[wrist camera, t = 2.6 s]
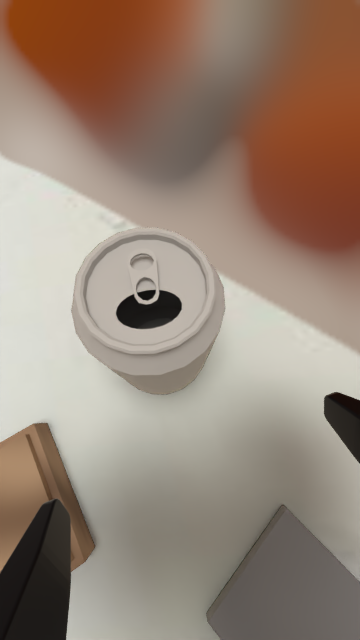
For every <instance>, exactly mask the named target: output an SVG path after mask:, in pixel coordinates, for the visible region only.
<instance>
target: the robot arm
mask: <svg viewBox="0 0 360 640" xmlns="http://www.w3.org/2000/svg"><path fill="white" fill-rule="evenodd" d="M324 415H325V417H326V419H327V421H328V422H329V424H330V425H331V426H332V428H333V429H334V430H335V432H336V433H337V434H338V436H339V437H340V438H341V440H342V441H343V442H344V444H345V445H346V446H347V448H348V449H349V450H350V452H351V453H352V454H353V456H354V457H355V458H356V460H357V461H358V462H359V463H360V400H357V399H355V398H352V397H349V396H347V395H344V394H341V393H338V392H334V393H331V394H329V395H326V396H325V398H324ZM70 585H71V519H70V514H69V512H68V511H67V509H66V508H65V507H64V505H63V504H62V502H61V501H60V500H59V499H57V498H55V499H52V500H50V501H47V502H45V503H43V504H42V505H41V507H40V508H39V510H38V512H37V513H36V515H35V516H34V518H33V520H32V521H31V523H30V525H29V526H28V528H27V530H26V531H25V533H24V534H23V536H22V538H21V539H20V541H19V543H18V544H17V546H16V548H15V549H14V551H13V552H12V554H11V556H10V557H9V559H8V561H7V562H6V564H5V566H4V567H3V569H2V570H1V572H0V640H66V633H67V622H68V610H69V599H70Z"/></svg>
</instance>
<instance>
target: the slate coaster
mask: <svg viewBox="0 0 360 640" xmlns="http://www.w3.org/2000/svg"><path fill="white" fill-rule="evenodd" d="M207 620H208V623H209V625H210V626H211V627H212V628H213V630H214V631H215V632H216V633H217V635H218V636H219V637H220V638H221V640H360V582H359V581H358V580H357V579H356V578H355V577H354V576H353V575H352V574H351V573H350V572H349V571H348V570H347V569H346V568H345V567H344V566H343V565H342V564H341V563H340V562H339V561H338V560H337V559H336V558H335V557H334V556H333V555H332V554H331V553H330V552H329V551H328V550H327V549H326V548H325V547H324V546H323V545H322V543H321V542H320V541H319V540H318V539H317V538H316V537H315V536H314V535H313V534H312V533H311V532H310V531H309V530H308V529H307V528H306V527H305V526H304V525H303V524H302V523H301V522H300V521H299V520H298V519H297V518H296V517H295V516H294V515H293V514H292V513H291V512H290V511H289V510H288V509H287V508H286V507H285V506H283V505H282V506H281V507H280V509H279V510H278V512H277V513H276V515H275V516H274V517H273V519H272V520H271V522H270V523H269V525H268V526H267V527H266V529H265V530H264V532H263V533H262V535H261V536H260V537H259V539H258V540H257V542H256V543H255V545H254V546H253V547H252V549H251V550H250V552H249V553H248V555H247V556H246V557H245V559H244V560H243V562H242V563H241V565H240V566H239V567H238V569H237V570H236V572H235V573H234V575H233V576H232V577H231V579H230V580H229V582H228V583H227V585H226V586H225V587H224V589H223V590H222V592H221V593H220V595H219V596H218V597H217V599H216V600H215V602H214V603H213V605H212V606H211V607H210V609H209V610H208V612H207Z"/></svg>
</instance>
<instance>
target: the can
mask: <svg viewBox="0 0 360 640" xmlns="http://www.w3.org/2000/svg"><path fill="white" fill-rule="evenodd" d="M71 311H72V316H73V321H74V326H75V330H76V334H77V335H78V337H79V338H80V340H81V341H82V343H83V345H84V346H85V348H86V349H87V351H88V352H89V353H90V354H91V355H92V356H94V357H95V358H96V359H98V360H99V361H100V362H102V363H103V364H104V365H106V366H107V367H108V368H110V369H111V370H113V371H114V372H115V373H117V374H118V375H119V376H121V377H122V378H124V379H125V380H126V381H128V382H129V383H130V384H132V385H133V386H135V387H136V388H137V389H139V390H142V391H145V392H148V393H151V394H169V393H172V392H175V391H178V390H181V389H183V388H184V387H186V386H187V385H188V384H190V383H191V382H192V381H193V380H195V378H196V377H197V375H198V374H199V372H200V371H201V369H202V368H203V365H204V363H205V361H206V359H207V357H208V355H209V352H210V350H211V348H212V346H213V344H214V342H215V339H216V337H217V335H218V333H219V331H220V327H221V323H222V319H223V316H224V312H225V299H224V287H223V285H222V283H221V280H220V278H219V276H218V274H217V272H216V269H215V268H214V266H213V265H212V264H211V263H210V262H209V260H208V257H207V256H206V255H205V254H204V253H203V252H202V250H201V249H200V248H199V247H198V246H197V245H196V244H195V243H194V242H192V241H191V240H189V239H187V238H186V237H184V236H182V235H180V234H179V233H177V232H172V231H169V230H165V229H161V228H134V229H131V230H127V231H123V232H119V233H117V234H115V235H113V236H111V237H110V238H108V239H106V240H104V241H103V242H101V243H99V244H98V245H97V246H96V247H95V248H94V249H93V250H92V251H91V253H90V254H89V255H88V256H87V257H86V258H85V259H84V261H83V263H82V265H81V267H80V269H79V271H78V273H77V275H76V280H75V287H74V294H73V303H72V310H71Z"/></svg>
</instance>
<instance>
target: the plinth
mask: <svg viewBox="0 0 360 640" xmlns="http://www.w3.org/2000/svg"><path fill="white" fill-rule="evenodd" d="M55 498H57V499H59V500H60V501H61V502H62V504H63V505H64V507H65V508H66V509H67V511H68V512H69V514H70V519H71V571H73V570H74V569H76V568H77V567H79V566H80V565H81V564H83V563H84V562H85V561H86V560H87V558H88V557H89V555H90V554H91V552H92V551H93V549H94V548H95V545H94V543H93V540H92V538H91V535H90V532H89V530H88V527H87V525H86V522H85V520H84V517H83V514H82V512H81V509H80V507H79V504H78V502H77V499H76V496H75V494H74V491H73V489H72V486H71V484H70V481H69V478H68V476H67V473H66V471H65V468H64V466H63V463H62V460H61V458H60V455H59V453H58V450H57V448H56V445H55V442H54V440H53V437H52V435H51V432H50V430H49V427H48V424H47V423H36V424H32V425H30V426H29V427H27V428H25V429H23V430H22V431H20V432H18V433H16V434H15V435H13V436H11V437H9V438H8V439H6V440H4V441H2V442H1V443H0V572H1V570H2V569H3V567H4V566H5V564H6V562H7V561H8V559H9V557H10V556H11V554H12V552H13V551H14V549H15V548H16V546H17V544H18V543H19V541H20V539H21V538H22V536H23V534H24V533H25V531H26V530H27V528H28V526H29V525H30V523H31V521H32V520H33V518H34V516H35V515H36V513H37V512H38V510H39V508H40V507H41V505H42V504H43V503H45V502H47V501H50V500H52V499H55Z"/></svg>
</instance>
